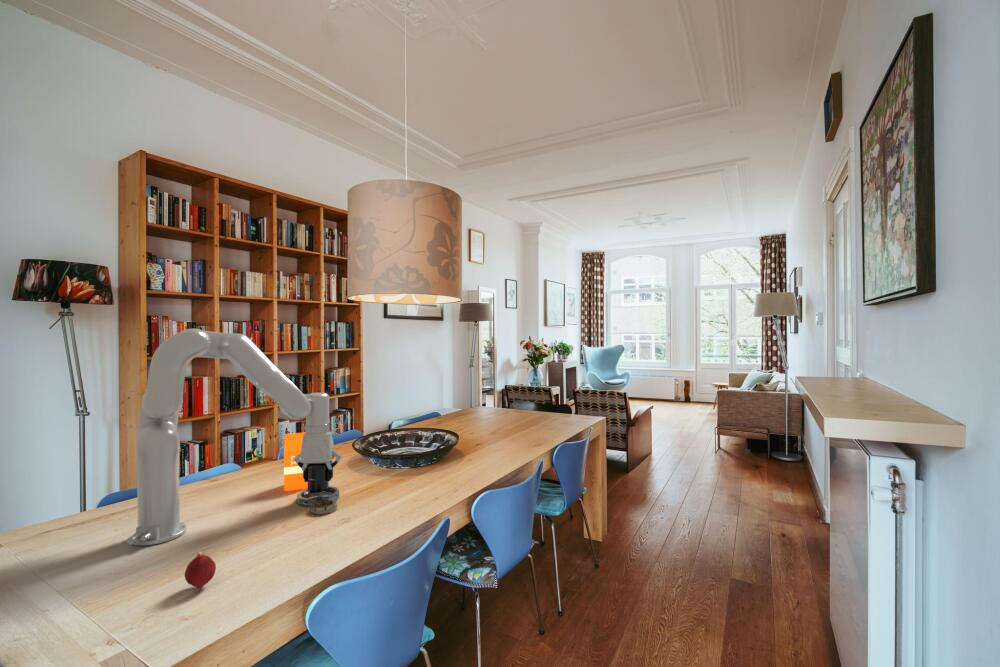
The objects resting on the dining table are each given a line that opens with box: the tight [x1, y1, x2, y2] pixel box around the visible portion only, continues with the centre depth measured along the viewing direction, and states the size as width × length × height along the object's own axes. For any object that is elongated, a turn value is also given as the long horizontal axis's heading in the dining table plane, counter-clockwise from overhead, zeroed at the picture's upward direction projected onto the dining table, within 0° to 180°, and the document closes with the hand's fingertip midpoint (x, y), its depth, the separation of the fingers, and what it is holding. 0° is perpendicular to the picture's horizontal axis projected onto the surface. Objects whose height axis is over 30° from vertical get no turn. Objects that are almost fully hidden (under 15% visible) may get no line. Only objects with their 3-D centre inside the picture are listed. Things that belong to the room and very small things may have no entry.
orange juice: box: [283, 431, 307, 492], centre depth 168 cm, size 8×9×20 cm
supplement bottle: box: [306, 463, 330, 493], centre depth 155 cm, size 7×7×12 cm
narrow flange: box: [310, 499, 338, 516], centre depth 146 cm, size 8×8×2 cm
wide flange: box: [296, 485, 340, 508], centre depth 155 cm, size 14×14×2 cm
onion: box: [184, 551, 217, 589], centre depth 102 cm, size 6×6×8 cm
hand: (318, 480), depth 155 cm, fingers closed on supplement bottle, 6 cm apart
